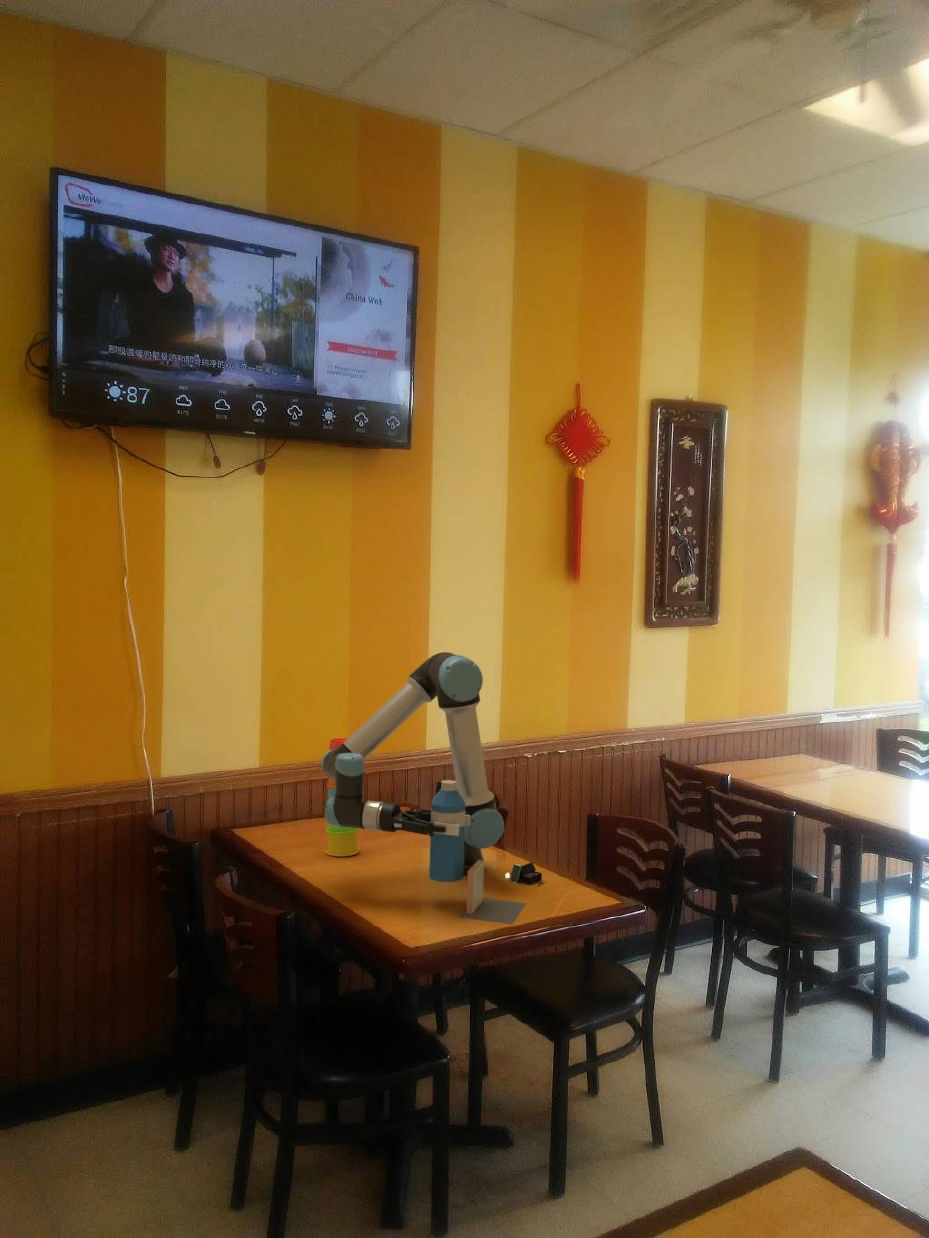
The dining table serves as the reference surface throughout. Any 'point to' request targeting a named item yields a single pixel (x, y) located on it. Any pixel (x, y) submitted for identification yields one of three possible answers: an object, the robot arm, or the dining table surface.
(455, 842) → the water bottle
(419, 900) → the dining table surface
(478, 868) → the tile
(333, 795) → the stacking cups
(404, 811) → the robot arm
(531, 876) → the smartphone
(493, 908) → the mat
